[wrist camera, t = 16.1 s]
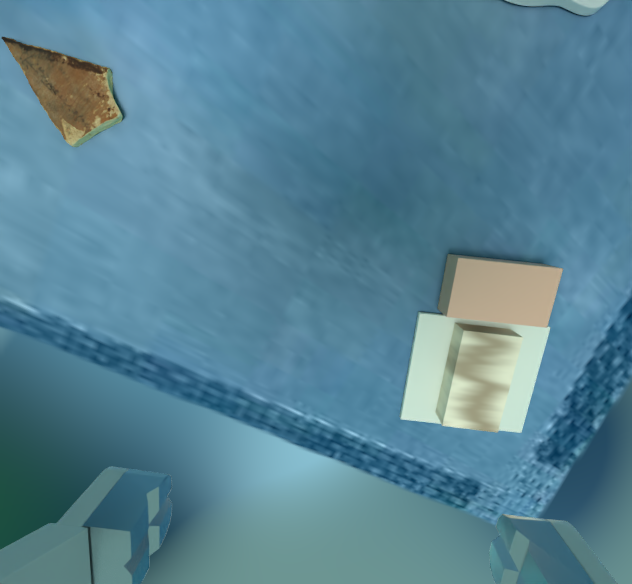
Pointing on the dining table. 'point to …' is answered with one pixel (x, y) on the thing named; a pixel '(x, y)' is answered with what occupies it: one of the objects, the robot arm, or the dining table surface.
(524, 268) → the terracotta step
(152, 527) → the robot arm
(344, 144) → the dining table surface
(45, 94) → the shard
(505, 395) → the birch block
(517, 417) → the rubber mat
